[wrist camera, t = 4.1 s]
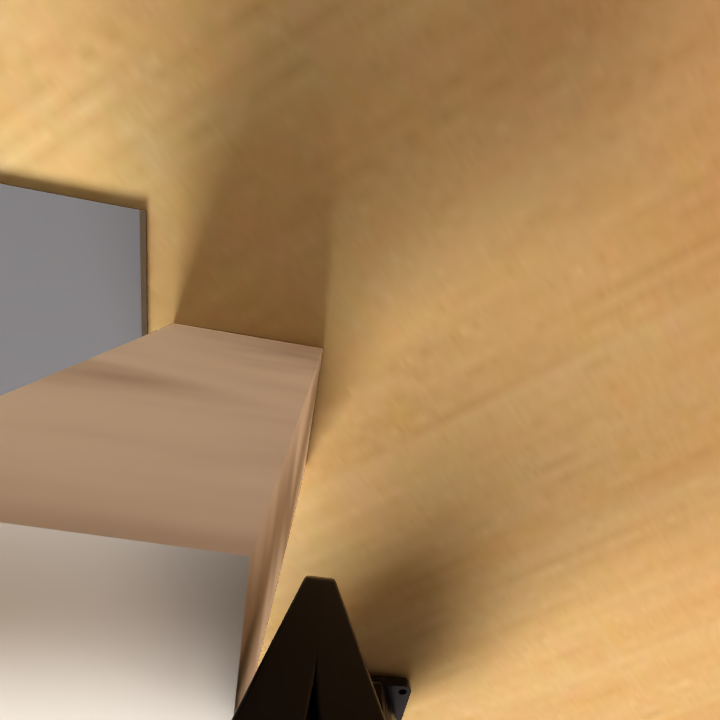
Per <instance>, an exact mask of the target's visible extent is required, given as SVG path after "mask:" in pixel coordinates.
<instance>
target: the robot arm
mask: <svg viewBox="0 0 720 720" xmlns="http://www.w3.org/2000/svg"><path fill="white" fill-rule="evenodd" d="M410 693H411V688H410V682H409V680H407V679H403V678H388V677H374V676H370V675H369V673H368V670H367V667H366V664H365V661H364V659H363V656H362V653H361V650H360V647H359V645H358V642H357V639H356V636H355V633H354V631H353V628H352V625H351V622H350V619H349V617H348V614H347V611H346V608H345V606H344V603H343V600H342V597H341V594H340V592H339V589H338V586H337V583H336V581H335V580H334V579H333V578H325V577H316V576H306V577H305V579H304V580H303V582H302V584H301V586H300V588H299V590H298V592H297V594H296V596H295V598H294V600H293V602H292V603H291V605H290V607H289V609H288V611H287V613H286V615H285V617H284V619H283V621H282V623H281V625H280V627H279V629H278V631H277V632H276V634H275V636H274V638H273V640H272V642H271V644H270V646H269V648H268V650H267V652H266V654H265V656H264V658H263V660H262V662H261V663H260V665H259V667H258V669H257V671H256V673H255V675H254V677H253V679H252V681H251V683H250V685H249V687H248V689H247V691H246V693H245V694H244V696H243V698H242V700H241V702H240V704H239V706H238V708H237V710H236V712H235V714H234V716H233V718H232V720H401V719H402V716H403V713H404V711H405V708H406V705H407V702H408V699H409V696H410Z"/></svg>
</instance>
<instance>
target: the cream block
mask: <svg viewBox="0 0 720 720" xmlns="http://www.w3.org/2000/svg"><path fill="white" fill-rule="evenodd" d="M322 353H323V348H317V347H311V346H305V345H299V344H293V343H288V342H282V341H276V340H270V339H264V338H258V337H252V336H246V335H241V334H235V333H229V332H223V331H217V330H211V329H205V328H199V327H194V326H188V325H181V324H175V323H173V324H171V325H168V326H166V327H164V328H161V329H159V330H156V331H154V332H152V333H149V334H147V335H145V336H142V337H140V338H137V339H135V340H133V341H130V342H128V343H125V344H123V345H121V346H118V347H116V348H114V349H111V350H109V351H106V352H104V353H102V354H99V355H97V356H94V357H92V358H90V359H87V360H85V361H83V362H80V363H78V364H75V365H73V366H71V367H68V368H66V369H63V370H61V371H59V372H56V373H54V374H52V375H49V376H47V377H44V378H42V379H40V380H37V381H35V382H32V383H30V384H28V385H25V386H23V387H21V388H18V389H16V390H13V391H11V392H9V393H6V394H4V395H1V396H0V720H232V718H233V716H234V714H235V712H236V710H237V708H238V706H239V704H240V702H241V700H242V698H243V696H244V694H245V693H246V691H247V689H248V687H249V685H250V683H251V681H252V679H253V677H254V675H255V673H256V669H257V665H258V661H259V657H260V653H261V649H262V644H263V640H264V636H265V632H266V628H267V624H268V620H269V616H270V612H271V607H272V603H273V599H274V595H275V591H276V587H277V583H278V579H279V574H280V570H281V566H282V562H283V558H284V554H285V550H286V546H287V542H288V537H289V533H290V529H291V525H292V521H293V517H294V513H295V509H296V504H297V500H298V496H299V492H300V488H301V484H302V480H303V476H304V471H305V465H306V458H307V452H308V445H309V439H310V432H311V425H312V419H313V412H314V406H315V399H316V392H317V386H318V379H319V373H320V366H321V360H322Z"/></svg>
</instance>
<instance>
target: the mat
mask: <svg viewBox="0 0 720 720" xmlns="http://www.w3.org/2000/svg"><path fill="white" fill-rule="evenodd" d="M145 335H147V276H146V211H143V210H138V209H133V208H127V207H122V206H117V205H112V204H106V203H101V202H96V201H90V200H85V199H80V198H74V197H69V196H64V195H58V194H53V193H48V192H42V191H37V190H32V189H27V188H21V187H16V186H11V185H5V184H0V396H1V395H4V394H6V393H9V392H11V391H13V390H16V389H18V388H21V387H23V386H25V385H28V384H30V383H32V382H35V381H37V380H40V379H42V378H44V377H47V376H49V375H52V374H54V373H56V372H59V371H61V370H63V369H66V368H68V367H71V366H73V365H75V364H78V363H80V362H83V361H85V360H87V359H90V358H92V357H94V356H97V355H99V354H102V353H104V352H106V351H109V350H111V349H114V348H116V347H118V346H121V345H123V344H125V343H128V342H130V341H133V340H135V339H137V338H140V337H142V336H145Z"/></svg>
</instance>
